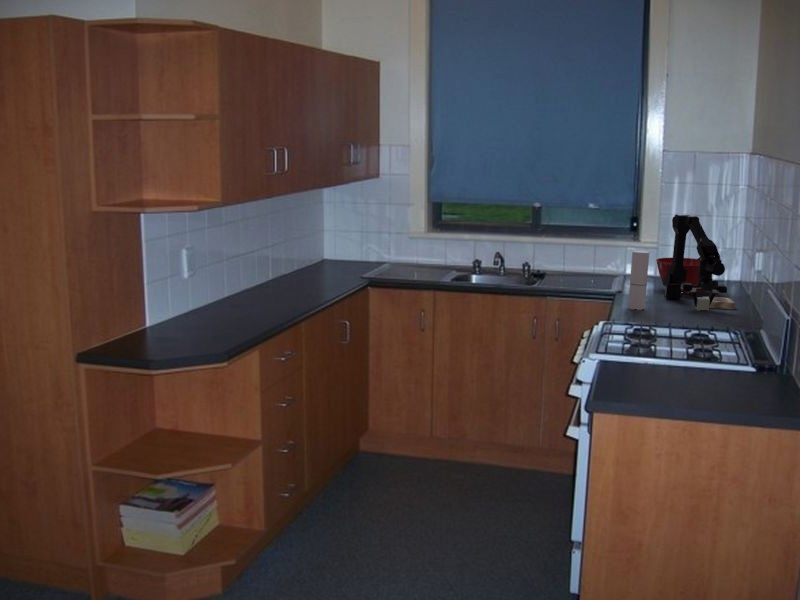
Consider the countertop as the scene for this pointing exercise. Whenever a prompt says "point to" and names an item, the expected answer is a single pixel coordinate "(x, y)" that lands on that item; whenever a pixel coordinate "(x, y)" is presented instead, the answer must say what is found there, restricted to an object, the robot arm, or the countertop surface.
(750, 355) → the countertop surface
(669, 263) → the mixing bowl
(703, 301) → the gray cube
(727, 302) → the birch base
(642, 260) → the white rectangular tower
